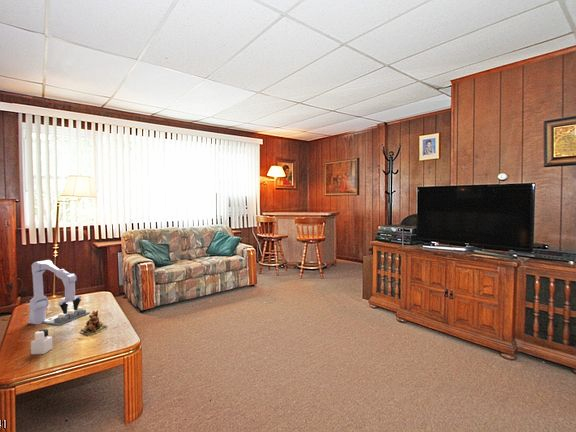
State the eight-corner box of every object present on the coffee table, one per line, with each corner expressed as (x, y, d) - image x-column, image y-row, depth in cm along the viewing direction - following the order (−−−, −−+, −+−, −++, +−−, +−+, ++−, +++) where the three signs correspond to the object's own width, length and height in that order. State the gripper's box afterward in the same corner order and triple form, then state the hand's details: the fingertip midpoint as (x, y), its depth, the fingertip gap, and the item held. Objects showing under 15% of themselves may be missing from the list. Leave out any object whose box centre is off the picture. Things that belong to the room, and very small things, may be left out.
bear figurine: (74, 333, 201) (74, 315, 200) (96, 325, 215) (95, 307, 214) (89, 336, 196) (89, 317, 195) (110, 327, 210) (110, 310, 209)
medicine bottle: (39, 348, 179) (39, 328, 179) (52, 348, 180) (52, 327, 180) (30, 354, 172) (30, 333, 172) (44, 354, 173) (43, 333, 172)
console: (39, 322, 217) (38, 318, 217) (70, 311, 240) (70, 306, 240) (59, 325, 213) (58, 320, 213) (89, 313, 236) (89, 309, 236)
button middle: (65, 315, 224) (65, 311, 224) (71, 313, 228) (70, 309, 228) (70, 315, 223) (70, 311, 223) (75, 313, 227) (75, 309, 227)
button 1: (56, 318, 217) (56, 314, 217) (61, 316, 221) (61, 312, 221) (60, 319, 216) (60, 315, 216) (66, 317, 220) (66, 313, 220)
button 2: (74, 312, 231) (74, 308, 230) (79, 310, 234) (79, 306, 234) (79, 312, 230) (79, 308, 229) (83, 310, 233) (83, 306, 233)
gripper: (64, 295, 202) (64, 316, 203) (84, 289, 216) (84, 308, 217) (56, 294, 204) (56, 315, 205) (76, 288, 218) (76, 307, 219)
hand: (70, 311), depth 211 cm, fingers open, 7 cm apart
